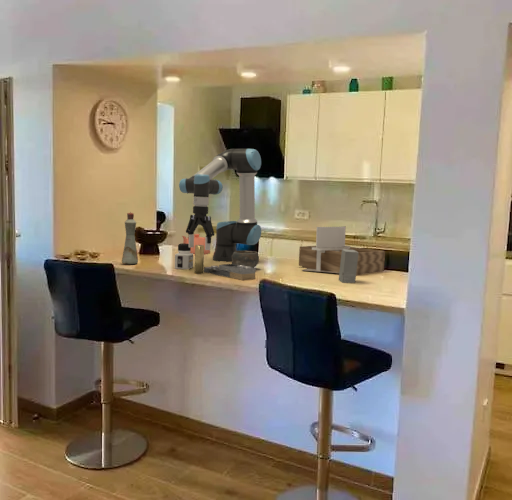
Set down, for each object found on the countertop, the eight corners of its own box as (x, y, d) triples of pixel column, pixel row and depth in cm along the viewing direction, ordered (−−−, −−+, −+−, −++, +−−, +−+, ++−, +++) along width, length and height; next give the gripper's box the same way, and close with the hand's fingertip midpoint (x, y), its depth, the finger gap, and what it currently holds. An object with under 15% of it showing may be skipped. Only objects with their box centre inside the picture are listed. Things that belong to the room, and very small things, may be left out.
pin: (199, 272, 289) (200, 244, 288) (205, 273, 286) (205, 245, 284) (192, 273, 286) (193, 245, 285) (198, 274, 283) (198, 246, 281)
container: (188, 269, 298) (189, 244, 296) (174, 268, 299) (174, 243, 298) (193, 267, 305) (193, 243, 304) (179, 266, 307) (179, 242, 305)
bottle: (117, 263, 309) (118, 211, 306) (127, 261, 318) (128, 211, 315) (131, 265, 306) (132, 212, 303) (141, 263, 314) (141, 212, 312)
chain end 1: (216, 270, 297) (216, 264, 296) (242, 276, 282) (243, 269, 281) (203, 272, 291) (204, 265, 291) (229, 277, 276) (229, 270, 276)
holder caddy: (332, 264, 341) (333, 244, 340) (383, 272, 314) (385, 251, 313) (298, 267, 321) (299, 246, 320) (350, 276, 294) (351, 253, 293)
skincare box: (338, 281, 278) (339, 248, 276) (352, 281, 279) (354, 249, 277) (342, 284, 270) (344, 250, 268) (357, 284, 270) (359, 251, 269)
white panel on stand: (319, 265, 332) (320, 225, 330) (354, 268, 322) (356, 226, 320) (300, 270, 307) (302, 226, 305) (338, 273, 297) (340, 228, 295)
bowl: (261, 269, 308) (262, 251, 307) (252, 273, 293) (253, 253, 292) (237, 267, 312) (238, 249, 311) (227, 271, 298) (227, 251, 297)
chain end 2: (231, 274, 288) (232, 262, 287) (255, 279, 275) (256, 266, 274) (218, 275, 282) (219, 263, 282) (242, 280, 269) (243, 267, 268)
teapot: (191, 257, 348) (191, 235, 347) (171, 255, 358) (172, 233, 357) (218, 255, 368) (218, 234, 367) (198, 252, 378) (199, 232, 377)
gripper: (179, 204, 289) (178, 246, 291) (210, 206, 271) (208, 251, 273) (191, 205, 294) (190, 246, 296) (222, 207, 276) (220, 250, 278)
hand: (199, 248), depth 284 cm, fingers open, 13 cm apart
